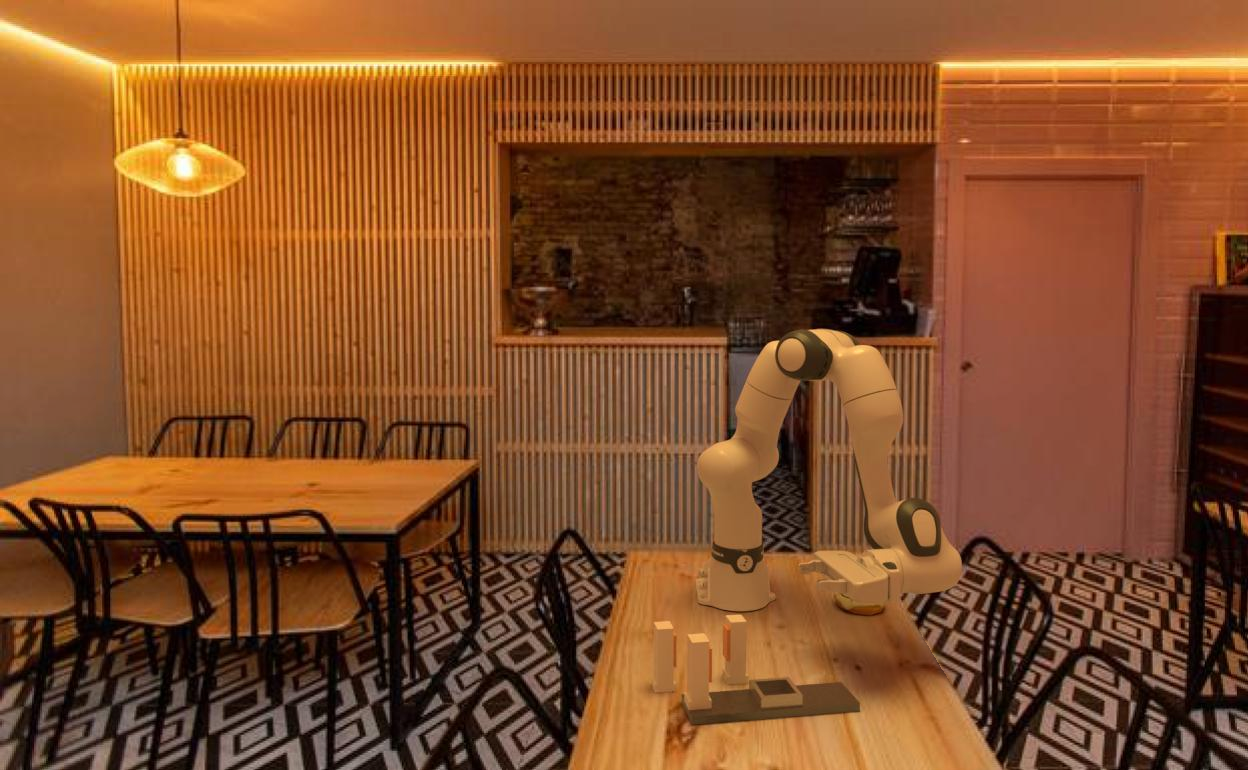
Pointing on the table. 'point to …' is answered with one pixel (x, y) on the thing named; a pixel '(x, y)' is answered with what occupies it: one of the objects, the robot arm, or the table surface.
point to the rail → (774, 701)
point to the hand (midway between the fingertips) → (808, 576)
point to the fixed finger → (698, 672)
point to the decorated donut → (857, 605)
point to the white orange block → (664, 657)
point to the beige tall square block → (734, 650)
